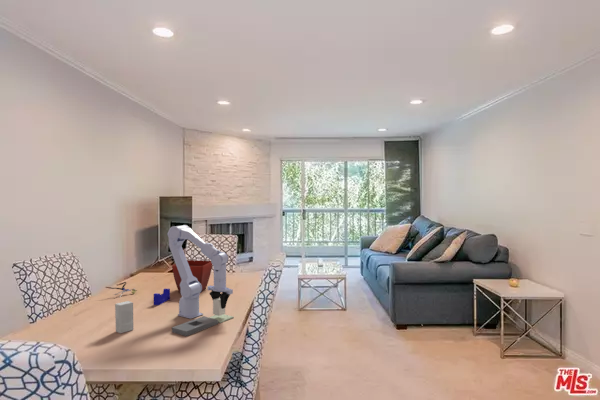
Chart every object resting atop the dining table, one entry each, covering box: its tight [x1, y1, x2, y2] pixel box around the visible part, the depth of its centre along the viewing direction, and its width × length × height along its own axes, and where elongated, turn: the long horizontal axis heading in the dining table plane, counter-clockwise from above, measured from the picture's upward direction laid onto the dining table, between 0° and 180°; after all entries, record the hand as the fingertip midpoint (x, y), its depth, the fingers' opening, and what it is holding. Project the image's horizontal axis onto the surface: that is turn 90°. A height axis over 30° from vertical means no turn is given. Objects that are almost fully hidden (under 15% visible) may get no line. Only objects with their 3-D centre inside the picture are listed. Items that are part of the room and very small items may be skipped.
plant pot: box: [171, 259, 213, 293], centre depth 236 cm, size 19×19×17 cm
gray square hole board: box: [171, 315, 219, 337], centre depth 170 cm, size 9×18×2 cm, turn 147°
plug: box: [212, 297, 226, 316], centre depth 182 cm, size 4×4×7 cm
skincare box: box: [114, 300, 135, 334], centre depth 167 cm, size 6×4×12 cm
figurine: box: [105, 281, 138, 298], centre depth 224 cm, size 10×9×20 cm
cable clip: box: [153, 288, 171, 306], centre depth 211 cm, size 12×4×6 cm, turn 171°
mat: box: [208, 313, 235, 324], centre depth 183 cm, size 9×9×1 cm
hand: (219, 307), depth 183 cm, fingers closed on plug, 4 cm apart
